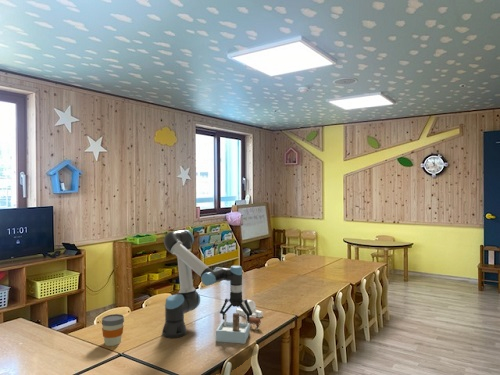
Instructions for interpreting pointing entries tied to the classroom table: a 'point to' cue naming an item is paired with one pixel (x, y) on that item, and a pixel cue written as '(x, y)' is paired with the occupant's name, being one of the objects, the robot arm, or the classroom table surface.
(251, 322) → the bull figurine
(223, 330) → the blue box
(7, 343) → the classroom table surface
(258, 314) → the white rounded shape
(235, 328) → the walnut peg
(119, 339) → the reusable coffee cup
